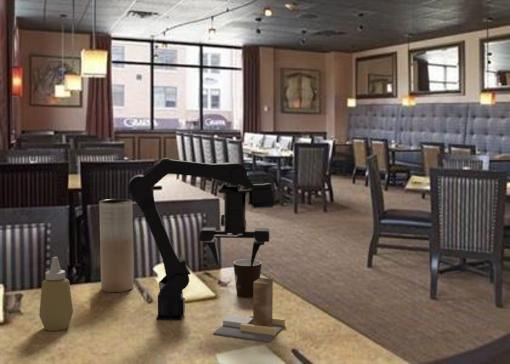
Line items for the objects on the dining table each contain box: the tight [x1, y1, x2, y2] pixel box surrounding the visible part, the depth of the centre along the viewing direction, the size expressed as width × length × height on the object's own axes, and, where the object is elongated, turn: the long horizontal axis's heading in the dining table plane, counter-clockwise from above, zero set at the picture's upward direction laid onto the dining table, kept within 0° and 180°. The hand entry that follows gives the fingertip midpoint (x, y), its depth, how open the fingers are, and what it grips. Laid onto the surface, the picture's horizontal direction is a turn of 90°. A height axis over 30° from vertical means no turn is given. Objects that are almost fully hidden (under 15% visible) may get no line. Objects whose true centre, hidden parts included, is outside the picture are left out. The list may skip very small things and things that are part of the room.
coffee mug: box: [232, 258, 262, 299], centre depth 170 cm, size 12×9×10 cm
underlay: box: [212, 313, 286, 343], centre depth 139 cm, size 14×12×2 cm
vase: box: [98, 198, 134, 293], centre depth 174 cm, size 10×10×28 cm
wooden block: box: [252, 277, 274, 327], centre depth 140 cm, size 4×4×12 cm
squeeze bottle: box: [38, 256, 74, 332], centre depth 139 cm, size 8×8×18 cm
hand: (234, 265), depth 152 cm, fingers open, 9 cm apart
